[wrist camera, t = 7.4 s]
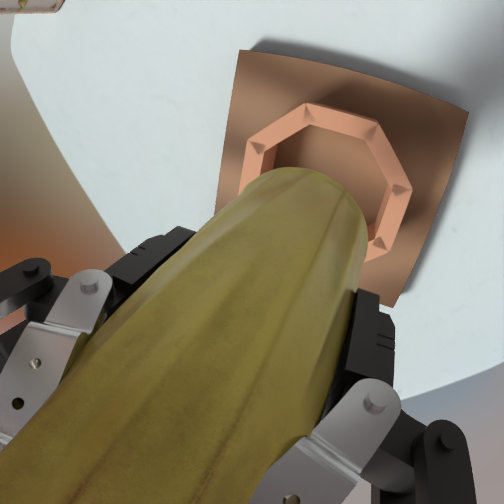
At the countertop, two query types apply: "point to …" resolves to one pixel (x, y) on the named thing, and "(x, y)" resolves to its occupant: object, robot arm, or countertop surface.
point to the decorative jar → (29, 6)
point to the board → (348, 146)
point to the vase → (205, 359)
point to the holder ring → (359, 126)
